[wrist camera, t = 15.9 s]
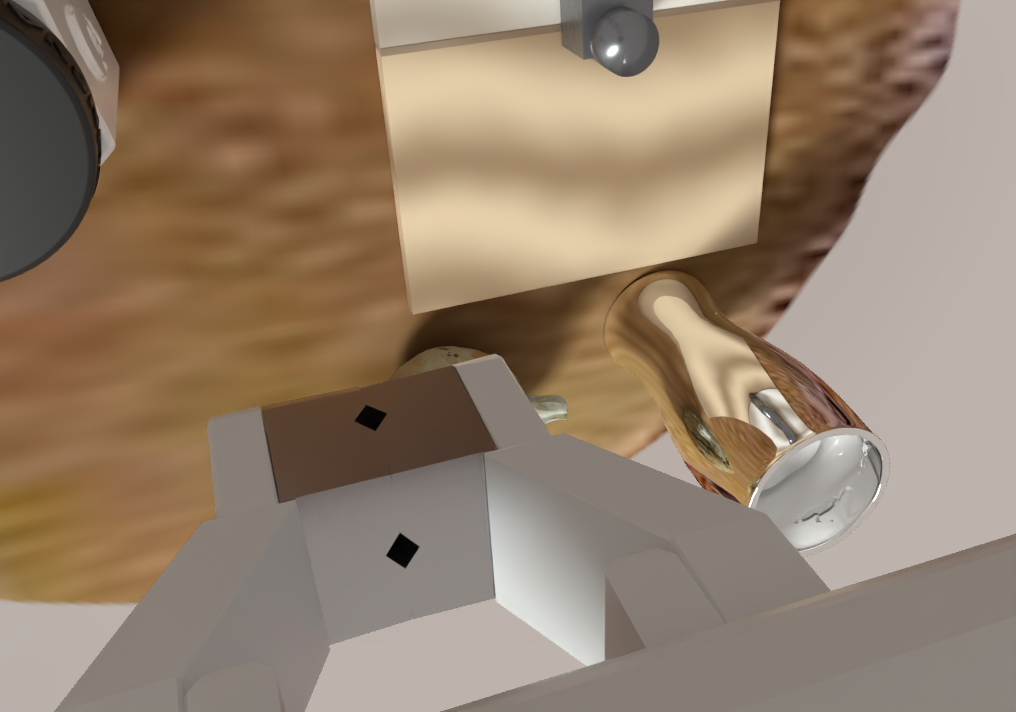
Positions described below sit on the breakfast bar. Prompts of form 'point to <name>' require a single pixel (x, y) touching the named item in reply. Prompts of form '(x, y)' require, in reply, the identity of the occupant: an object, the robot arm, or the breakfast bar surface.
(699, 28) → the door board
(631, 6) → the bar
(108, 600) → the breakfast bar surface
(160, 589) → the robot arm
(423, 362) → the onion
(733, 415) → the beer glass
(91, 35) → the jar
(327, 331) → the breakfast bar surface
